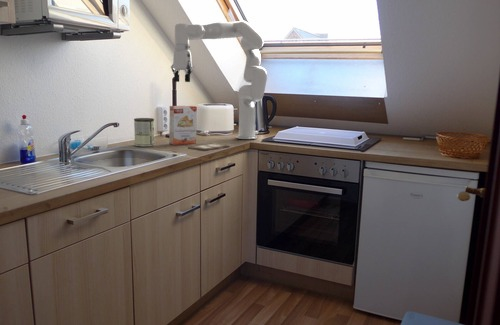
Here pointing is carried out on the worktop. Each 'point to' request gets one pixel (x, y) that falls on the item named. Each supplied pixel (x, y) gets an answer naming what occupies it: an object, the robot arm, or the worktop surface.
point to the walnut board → (208, 147)
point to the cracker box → (182, 125)
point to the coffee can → (144, 131)
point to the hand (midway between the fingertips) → (182, 81)
